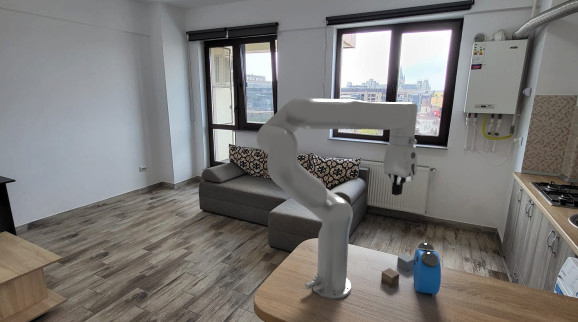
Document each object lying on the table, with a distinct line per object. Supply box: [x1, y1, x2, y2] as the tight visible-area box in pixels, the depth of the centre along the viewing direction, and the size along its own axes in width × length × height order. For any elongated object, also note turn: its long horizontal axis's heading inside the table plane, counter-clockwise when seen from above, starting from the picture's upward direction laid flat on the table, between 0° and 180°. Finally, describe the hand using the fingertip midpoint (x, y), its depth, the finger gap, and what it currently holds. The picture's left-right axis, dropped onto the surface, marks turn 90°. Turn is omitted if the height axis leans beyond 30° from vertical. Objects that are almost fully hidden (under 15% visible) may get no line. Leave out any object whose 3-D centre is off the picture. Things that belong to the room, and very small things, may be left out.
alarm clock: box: [412, 241, 442, 298], centre depth 94 cm, size 13×6×15 cm, turn 165°
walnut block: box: [380, 267, 400, 289], centre depth 98 cm, size 4×4×4 cm
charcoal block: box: [396, 253, 414, 273], centre depth 107 cm, size 4×4×4 cm
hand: (396, 194), depth 99 cm, fingers closed
